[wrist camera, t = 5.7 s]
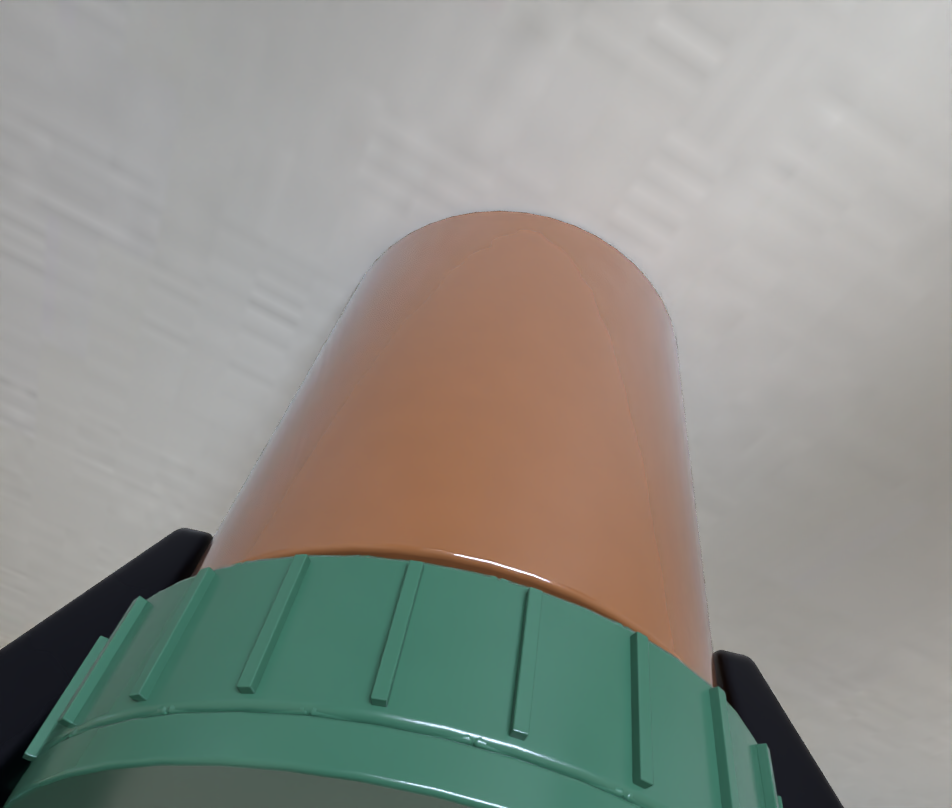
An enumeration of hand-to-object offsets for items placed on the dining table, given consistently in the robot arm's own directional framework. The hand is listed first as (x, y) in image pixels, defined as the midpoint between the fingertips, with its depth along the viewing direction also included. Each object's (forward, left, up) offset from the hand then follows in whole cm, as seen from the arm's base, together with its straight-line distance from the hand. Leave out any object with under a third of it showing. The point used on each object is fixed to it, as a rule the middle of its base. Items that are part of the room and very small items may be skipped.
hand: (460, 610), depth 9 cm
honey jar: (0, 0, -5) cm, 5 cm away
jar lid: (0, 0, +3) cm, 3 cm away
